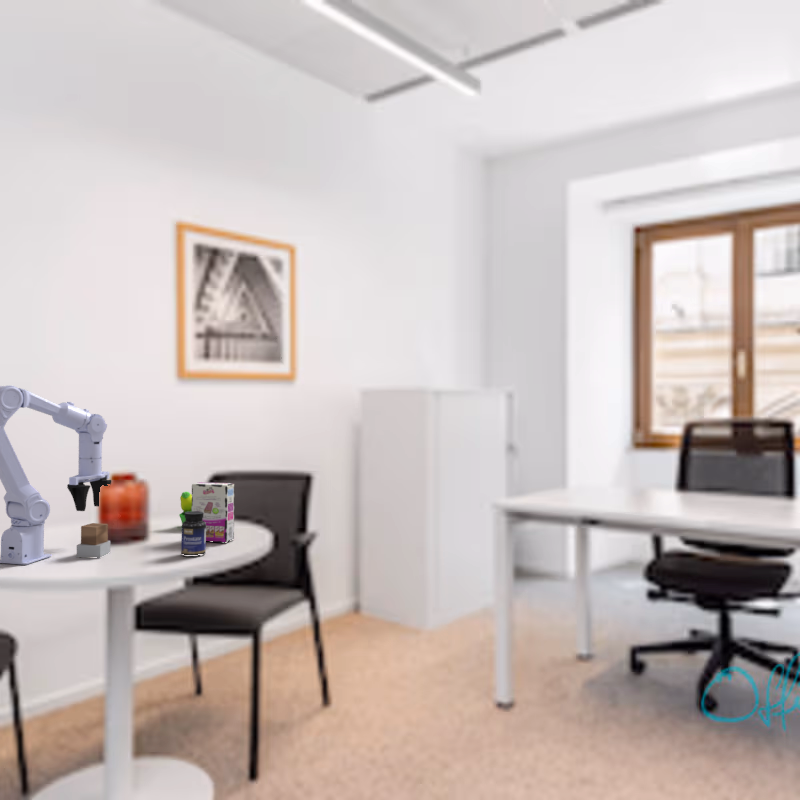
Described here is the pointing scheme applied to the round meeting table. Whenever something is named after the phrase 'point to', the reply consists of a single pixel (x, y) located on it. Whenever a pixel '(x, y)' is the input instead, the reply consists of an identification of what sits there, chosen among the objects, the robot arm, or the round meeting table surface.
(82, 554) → the grey block
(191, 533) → the pill bottle
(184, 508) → the yellow green toy
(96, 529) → the walnut cube
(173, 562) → the round meeting table surface
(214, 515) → the candy bar box
